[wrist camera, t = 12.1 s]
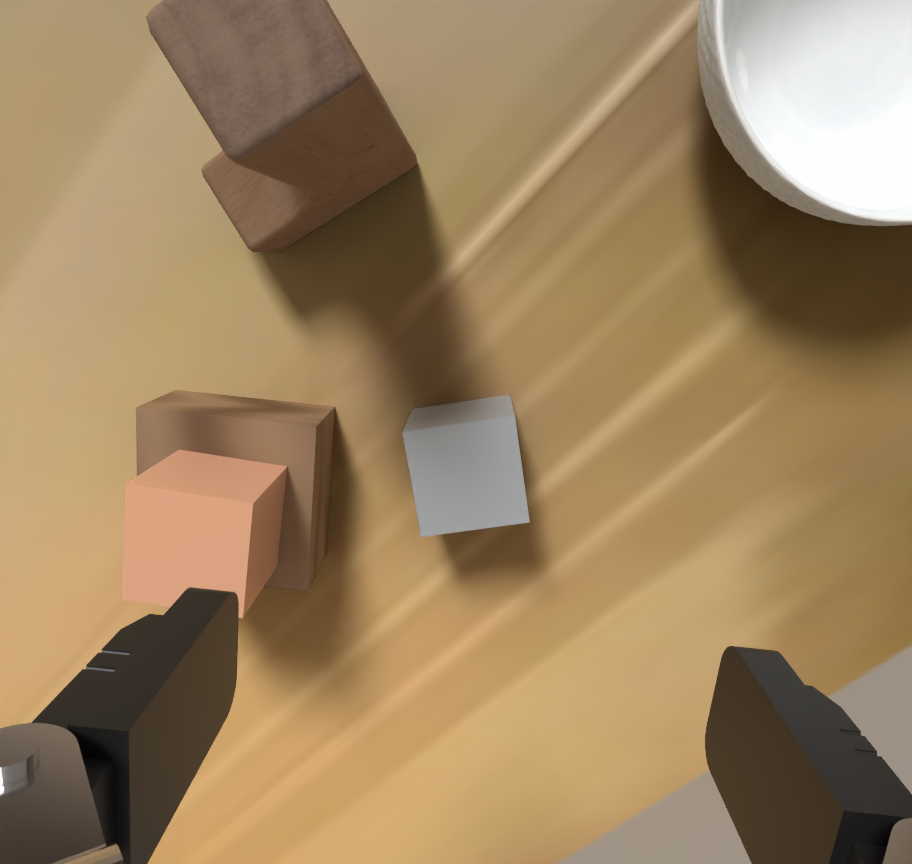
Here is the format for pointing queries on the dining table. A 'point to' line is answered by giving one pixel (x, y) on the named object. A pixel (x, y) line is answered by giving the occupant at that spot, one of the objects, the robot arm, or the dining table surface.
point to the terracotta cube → (201, 528)
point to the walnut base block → (261, 440)
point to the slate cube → (465, 466)
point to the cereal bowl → (815, 101)
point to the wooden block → (281, 112)
